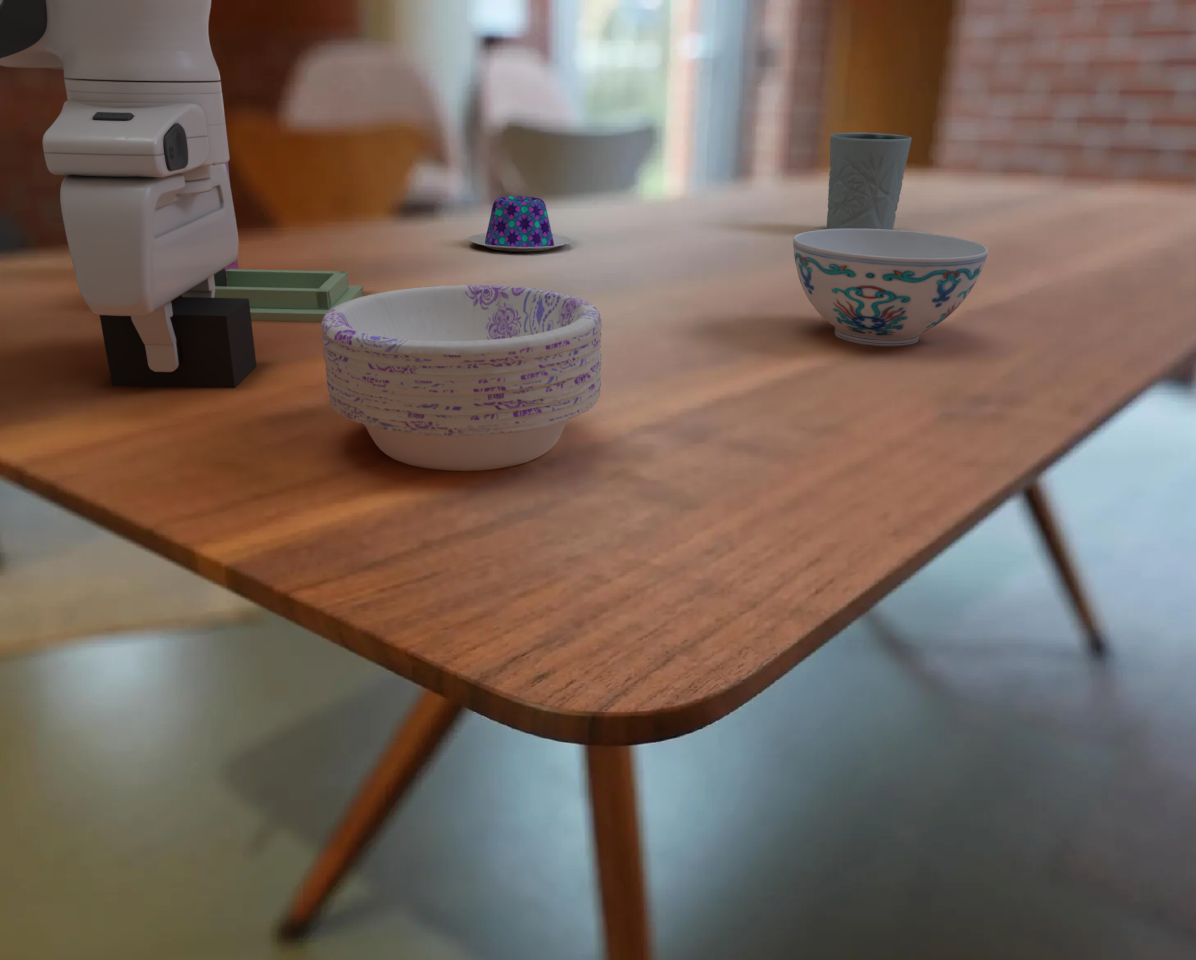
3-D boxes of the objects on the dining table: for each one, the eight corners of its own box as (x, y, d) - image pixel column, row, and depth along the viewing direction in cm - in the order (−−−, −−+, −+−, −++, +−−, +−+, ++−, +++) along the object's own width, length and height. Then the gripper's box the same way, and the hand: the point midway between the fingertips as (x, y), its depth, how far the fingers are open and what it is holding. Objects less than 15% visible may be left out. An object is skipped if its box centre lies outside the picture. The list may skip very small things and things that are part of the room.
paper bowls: (273, 457, 61) (257, 312, 57) (446, 395, 73) (441, 271, 69) (495, 517, 54) (492, 357, 50) (647, 438, 66) (653, 303, 62)
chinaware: (1004, 343, 90) (1022, 245, 87) (909, 374, 81) (925, 265, 77) (848, 312, 100) (860, 223, 96) (747, 336, 90) (755, 238, 87)
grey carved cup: (897, 230, 149) (911, 134, 143) (898, 241, 140) (913, 139, 134) (821, 226, 151) (832, 131, 145) (817, 236, 142) (829, 135, 136)
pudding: (447, 243, 129) (446, 196, 127) (527, 235, 136) (527, 190, 134) (511, 258, 121) (510, 207, 119) (592, 248, 128) (593, 201, 126)
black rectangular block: (112, 390, 72) (98, 312, 70) (141, 368, 77) (129, 295, 74) (235, 392, 72) (226, 315, 70) (257, 370, 77) (249, 298, 75)
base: (115, 321, 89) (102, 244, 87) (164, 292, 100) (154, 223, 97) (338, 326, 90) (332, 250, 87) (363, 296, 100) (358, 228, 98)
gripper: (156, 121, 77) (184, 321, 83) (26, 143, 58) (74, 397, 64) (248, 123, 77) (269, 322, 83) (146, 146, 58) (183, 399, 65)
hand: (183, 356), depth 74 cm, fingers closed on black rectangular block, 5 cm apart
